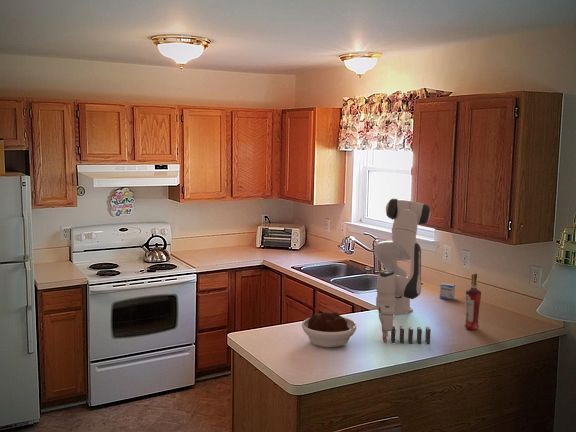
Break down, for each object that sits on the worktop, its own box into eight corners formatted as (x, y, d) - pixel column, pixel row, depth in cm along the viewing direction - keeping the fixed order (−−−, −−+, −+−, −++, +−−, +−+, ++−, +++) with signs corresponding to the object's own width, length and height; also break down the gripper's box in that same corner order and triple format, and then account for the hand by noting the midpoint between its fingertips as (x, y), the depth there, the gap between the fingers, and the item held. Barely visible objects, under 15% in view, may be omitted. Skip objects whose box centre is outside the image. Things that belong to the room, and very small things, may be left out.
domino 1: (382, 339, 278) (382, 324, 277) (385, 339, 278) (385, 324, 277) (383, 342, 274) (383, 327, 273) (386, 342, 273) (386, 327, 273)
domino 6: (425, 341, 277) (425, 326, 276) (428, 341, 277) (428, 326, 276) (426, 344, 273) (427, 329, 272) (430, 344, 273) (430, 329, 272)
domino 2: (390, 340, 278) (391, 326, 277) (393, 340, 278) (394, 326, 277) (392, 343, 273) (392, 328, 272) (395, 343, 273) (395, 329, 272)
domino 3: (399, 340, 277) (400, 326, 276) (402, 340, 277) (403, 326, 276) (400, 343, 273) (401, 329, 272) (403, 343, 273) (404, 329, 272)
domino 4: (408, 340, 277) (408, 326, 276) (411, 340, 277) (411, 326, 276) (409, 343, 273) (410, 329, 272) (412, 343, 273) (413, 329, 272)
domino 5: (416, 340, 277) (417, 326, 276) (419, 341, 277) (420, 326, 276) (418, 344, 273) (418, 329, 272) (421, 344, 273) (421, 329, 272)
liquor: (460, 327, 298) (463, 272, 294) (472, 325, 300) (475, 271, 296) (470, 331, 291) (473, 276, 287) (482, 330, 293) (485, 274, 290)
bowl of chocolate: (322, 331, 290) (323, 301, 288) (366, 342, 274) (367, 311, 272) (290, 344, 271) (291, 312, 269) (335, 357, 255) (336, 324, 253)
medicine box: (439, 298, 350) (440, 284, 349) (441, 296, 354) (441, 282, 353) (452, 300, 346) (453, 285, 345) (454, 298, 350) (455, 284, 349)
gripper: (376, 299, 284) (375, 327, 286) (381, 311, 263) (380, 341, 265) (389, 299, 283) (388, 327, 285) (395, 312, 263) (394, 342, 265)
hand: (384, 334), depth 275 cm, fingers closed on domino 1, 4 cm apart
